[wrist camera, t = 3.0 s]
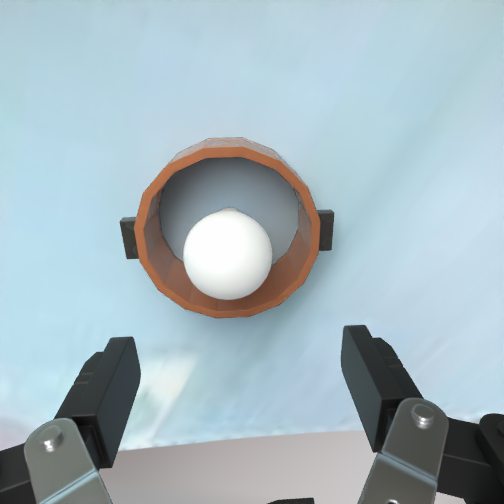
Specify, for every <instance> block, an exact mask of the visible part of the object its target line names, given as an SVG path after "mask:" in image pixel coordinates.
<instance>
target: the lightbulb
mask: <svg viewBox="0 0 504 504" xmlns="http://www.w3.org/2000/svg"><path fill="white" fill-rule="evenodd" d="M272 254H273V251H272V247H271V242H270V239H269V237H268V235H267V233H266V231H265V230H264V229H263V227H262V226H261V225H260V224H259V223H258V222H256V221H255V220H254V219H253V218H251V217H249V216H248V215H245V214H243V213H241V212H240V211H239V210H237V209H235V208H231V207H228V208H224V209H222V210H220V211H219V212H216V213H213V214H211V215H208V216H206V217H205V218H203V219H202V220H201V221H199V222H198V223H197V224H196V225H195V226H194V227H193V228H192V229H191V231H190V233H189V234H188V236H187V239H186V242H185V245H184V250H183V259H184V266H185V269H186V272H187V274H188V276H189V278H190V280H191V281H192V283H193V284H194V285H195V286H196V287H197V288H198V289H199V290H200V291H202V292H203V293H205V294H207V295H208V296H210V297H214V298H217V299H223V300H234V299H238V298H242V297H245V296H247V295H249V294H251V293H253V292H254V291H255V290H257V289H258V288H259V287H260V286H261V285H262V283H263V282H264V280H265V279H266V278H267V276H268V273H269V271H270V268H271V264H272Z"/></svg>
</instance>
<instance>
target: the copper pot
mask: <svg viewBox="0 0 504 504" xmlns="http://www.w3.org/2000/svg"><path fill="white" fill-rule="evenodd" d="M225 157H244V158H246V159H249V160H252V161H254V162H257V163H259V164H262V165H265V166H267V167H270V168H272V169H275V170H276V171H277V172H278V173H279V174H280V175H281V176H282V177H283V178H284V179H285V180H286V181H287V182H288V183H290V184H291V185H292V186H293V189H294V191H295V194H296V196H297V199H298V201H299V219H298V230H297V232H296V235H295V237H294V239H293V241H292V243H291V245H290V248H289V250H288V252H287V253H286V254H285V255H284V256H282V257H281V258H280V259H279V260H278V261H277V262H276V263H275V264H274V265H273V266H272V267H271V268H270V271H269V273H268V276H267V278H266V279H265V280H264V282H263V283H262V285H261V286H260V287H259V288H258V289H257V290H255V291H254V292H253V293H251V294H249V295H247V296H245V297H242V298H238V299H234V300H223V299H217V298H214V297H210V296H208V295H207V294H205V293H203V292H202V291H200V290H199V289H198V288H197V287H196V286H195V285H194V284H193V283H192V281H191V280H190V278H189V276H188V274H187V272H186V269H185V266H184V263H183V262H182V261H181V260H179V259H178V258H177V257H176V256H175V255H174V254H173V252H172V250H171V249H170V247H169V245H168V244H167V242H166V240H165V239H164V237H163V235H162V232H161V225H160V218H159V211H158V206H159V203H160V199H161V196H162V192H163V189H164V185H165V183H166V182H167V181H168V180H169V178H170V177H171V176H172V175H173V174H174V173H175V172H177V171H180V170H182V169H184V168H186V167H188V166H190V165H192V164H194V163H197V162H199V161H201V160H203V159H205V158H225ZM333 223H334V212H333V211H332V210H316V207H315V205H314V202H313V200H312V197H311V194H310V192H309V189H308V187H307V186H306V185H305V183H304V182H303V181H302V179H301V178H300V177H299V176H298V174H297V173H296V172H295V171H294V170H293V169H292V168H291V167H290V166H289V165H288V164H287V163H286V162H285V161H284V160H283V159H282V158H281V157H280V156H279V155H278V154H277V153H276V152H275V151H274V150H273V149H271V148H268V147H266V146H263V145H261V144H258V143H255V142H253V141H250V140H248V139H245V138H243V137H235V138H208V139H206V140H204V141H202V142H200V143H198V144H196V145H194V146H191V147H189V148H187V149H185V150H183V151H181V152H179V153H178V154H177V155H176V156H175V157H174V158H173V159H172V160H171V161H170V162H169V163H168V164H167V165H166V167H165V168H164V169H163V170H162V171H161V173H160V174H159V175H158V176H157V177H156V178H155V180H154V181H153V182H152V183H151V184H150V186H149V187H148V188H147V189H146V190H145V192H144V193H143V195H142V199H141V202H140V206H139V210H138V214H137V217H129V218H122V219H121V220H120V226H121V231H122V236H123V242H124V247H125V252H126V257H127V259H139V260H140V263H141V264H142V266H143V267H144V269H145V270H146V272H147V274H148V275H149V277H150V278H151V280H152V281H153V283H154V284H155V286H156V287H157V289H158V290H159V291H160V292H162V293H163V294H164V295H166V296H167V297H169V298H170V299H171V300H173V301H174V302H175V303H177V304H178V305H180V306H181V307H182V308H184V309H186V310H190V311H193V312H197V313H200V314H204V315H207V316H211V317H214V318H233V317H251V316H253V315H256V314H258V313H261V312H263V311H266V310H268V309H271V308H273V307H276V306H278V305H280V304H281V303H282V302H283V301H284V300H286V299H287V298H288V297H289V296H290V295H291V294H292V293H293V292H295V291H296V290H297V289H298V288H299V287H300V286H301V285H302V284H303V283H304V282H305V280H306V278H307V276H308V274H309V272H310V270H311V268H312V266H313V264H314V262H315V260H316V258H317V256H318V254H319V251H329V250H332V237H333Z"/></svg>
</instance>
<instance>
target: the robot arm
mask: <svg viewBox="0 0 504 504" xmlns="http://www.w3.org/2000/svg"><path fill="white" fill-rule="evenodd" d="M341 367H342V372H343V375H344V378H345V380H346V383H347V386H348V388H349V391H350V393H351V396H352V399H353V401H354V404H355V407H356V409H357V412H358V414H359V417H360V420H361V422H362V425H363V427H364V430H365V432H366V435H367V438H368V440H369V443H370V446H371V448H372V451H373V452H378V453H377V455H376V458H375V460H374V463H373V465H372V468H371V470H370V473H369V475H368V478H367V480H366V483H365V486H364V488H363V491H362V494H361V496H360V498H359V501H358V504H434V501H435V496H436V492H440V493H444V494H447V495H451V496H455V497H459V498H463V499H464V501H465V502H466V504H504V415H502V414H495V413H493V414H487V415H485V416H483V417H482V418H481V420H480V423H479V424H475V423H470V422H465V421H461V420H456V419H452V418H449V417H447V416H446V414H445V413H444V412H443V411H442V410H441V409H440V408H439V407H438V406H437V405H435V404H434V403H432V402H430V401H428V400H425V399H424V398H423V397H422V395H421V394H420V392H419V390H418V389H417V387H416V385H415V384H414V382H413V381H412V379H411V377H410V376H409V374H408V372H407V371H406V369H405V368H404V367H403V364H402V363H401V361H400V360H399V359H398V356H397V355H396V353H395V351H394V350H393V348H392V347H391V346H390V345H389V344H388V343H387V342H385V341H384V340H383V339H382V338H372V336H371V334H370V332H369V330H368V329H367V327H366V326H365V325H351V326H344V329H343V339H342V350H341ZM140 377H141V370H140V364H139V360H138V355H137V350H136V345H135V341H134V338H133V337H113V338H111V339H110V340H109V342H108V344H107V346H106V348H105V350H104V352H96V353H95V354H94V355H93V356H92V357H91V358H90V359H88V360H87V361H86V362H85V364H84V366H83V367H82V369H81V371H80V373H79V376H77V378H76V380H75V382H74V385H72V387H71V389H70V391H69V392H68V394H67V396H66V398H65V400H64V401H63V403H62V405H61V407H60V409H59V410H58V412H57V414H56V416H55V417H54V419H53V420H51V421H49V422H47V423H45V424H43V425H41V426H40V427H39V428H37V429H36V430H35V431H34V432H33V433H32V434H31V435H30V436H29V437H28V439H27V441H26V442H25V443H23V444H21V445H18V446H15V447H12V448H8V449H5V450H2V451H0V504H113V503H112V501H111V499H110V496H109V494H108V492H107V489H106V487H105V485H104V483H103V481H102V478H101V476H100V474H99V469H100V468H101V469H102V468H112V466H113V463H114V460H115V457H116V454H117V451H118V448H119V445H120V442H121V439H122V436H123V433H124V430H125V427H126V424H127V421H128V418H129V415H130V412H131V409H132V406H133V403H134V400H135V396H136V393H137V390H138V387H139V384H140ZM268 504H314V499H313V498H301V499H286V500H277V501H274V502H271V503H268Z"/></svg>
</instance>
